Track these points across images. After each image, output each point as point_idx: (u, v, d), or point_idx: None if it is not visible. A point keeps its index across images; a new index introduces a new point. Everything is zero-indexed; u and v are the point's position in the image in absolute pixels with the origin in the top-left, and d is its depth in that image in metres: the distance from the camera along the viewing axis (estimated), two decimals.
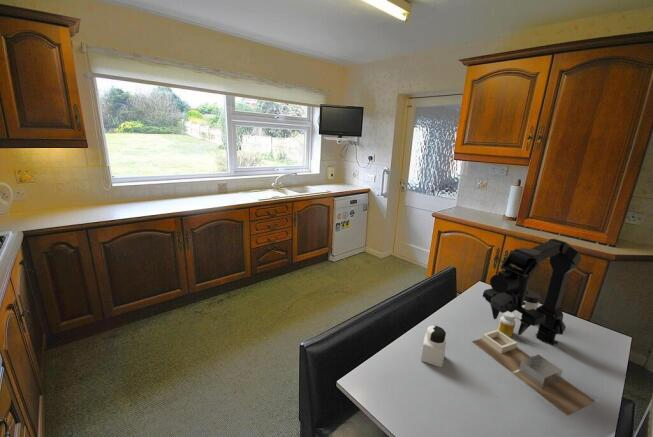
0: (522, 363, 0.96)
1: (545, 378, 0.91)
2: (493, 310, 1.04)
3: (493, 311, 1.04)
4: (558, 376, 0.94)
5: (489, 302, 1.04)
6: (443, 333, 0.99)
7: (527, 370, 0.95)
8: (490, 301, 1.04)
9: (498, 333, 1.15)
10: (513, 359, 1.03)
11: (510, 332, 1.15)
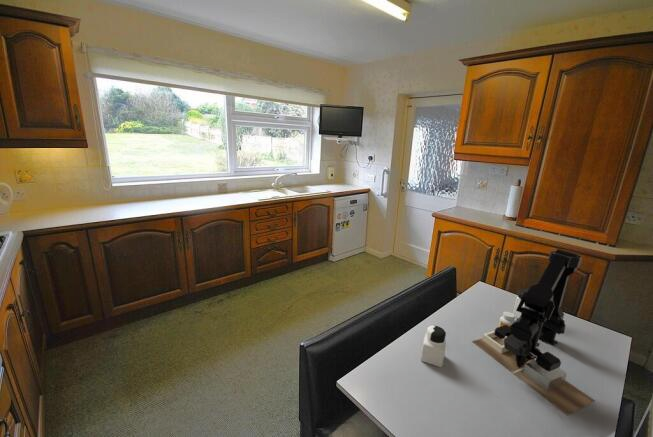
0: (526, 366, 0.95)
1: (550, 382, 0.89)
2: (517, 358, 0.98)
3: (517, 359, 0.98)
4: (563, 379, 0.92)
5: None
6: (443, 333, 0.99)
7: (531, 373, 0.94)
8: None
9: None
10: (513, 359, 1.03)
11: None
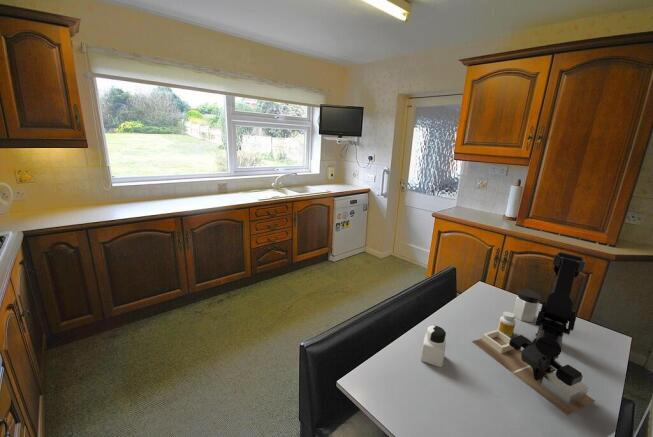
0: (544, 379, 0.90)
1: (571, 397, 0.84)
2: (534, 370, 0.93)
3: (534, 371, 0.93)
4: (584, 394, 0.87)
5: None
6: (443, 333, 0.99)
7: (550, 387, 0.89)
8: None
9: (498, 333, 1.15)
10: (513, 359, 1.03)
11: (510, 332, 1.15)
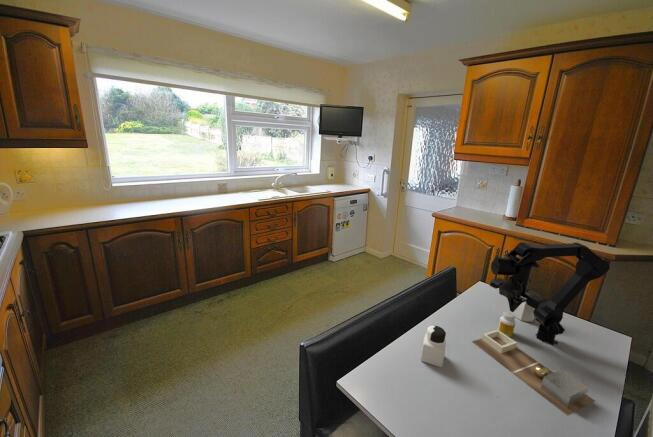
0: (544, 379, 0.90)
1: (571, 397, 0.84)
2: (510, 303, 1.13)
3: (510, 304, 1.13)
4: (584, 394, 0.87)
5: None
6: (443, 333, 0.99)
7: (550, 387, 0.89)
8: None
9: (498, 333, 1.15)
10: (513, 359, 1.03)
11: (510, 332, 1.15)
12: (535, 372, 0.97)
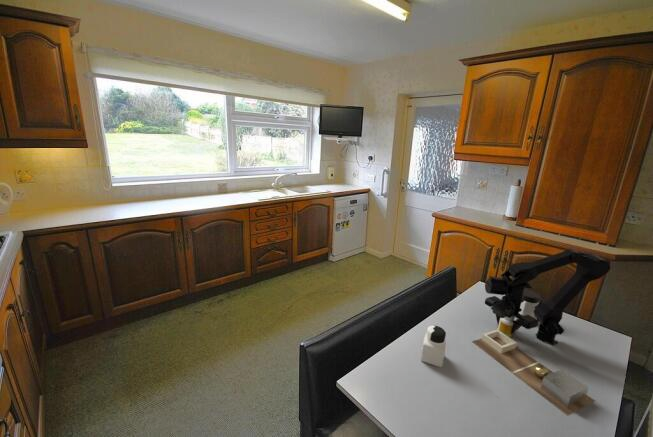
0: (544, 379, 0.90)
1: (571, 397, 0.84)
2: (497, 318, 1.20)
3: (497, 318, 1.20)
4: (584, 394, 0.87)
5: None
6: (443, 333, 0.99)
7: (550, 387, 0.89)
8: None
9: (498, 333, 1.15)
10: (513, 359, 1.03)
11: (510, 332, 1.15)
12: (535, 372, 0.97)
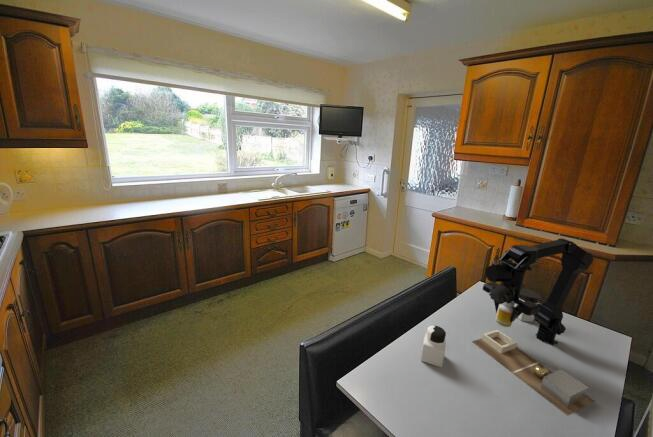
0: (544, 379, 0.90)
1: (571, 397, 0.84)
2: (496, 305, 1.11)
3: (496, 306, 1.11)
4: (584, 394, 0.87)
5: None
6: (443, 333, 0.99)
7: (550, 387, 0.89)
8: None
9: (498, 333, 1.15)
10: (513, 359, 1.03)
11: (509, 320, 1.07)
12: (535, 372, 0.97)
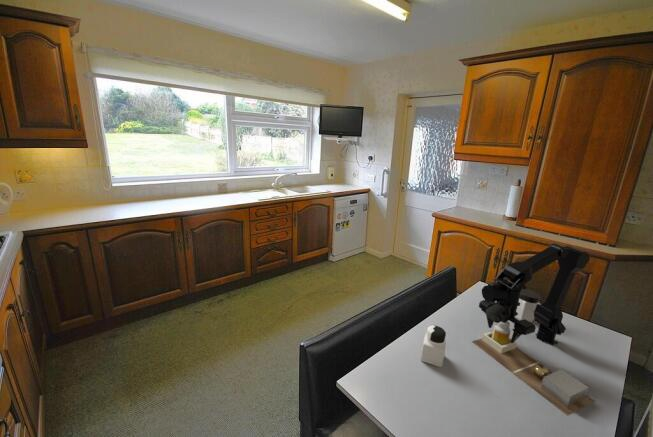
0: (544, 379, 0.90)
1: (571, 397, 0.84)
2: (488, 319, 1.13)
3: (488, 320, 1.13)
4: (584, 394, 0.87)
5: (484, 312, 1.13)
6: (443, 333, 0.99)
7: (550, 387, 0.89)
8: (485, 311, 1.13)
9: None
10: (513, 359, 1.03)
11: (505, 341, 1.08)
12: (535, 372, 0.97)
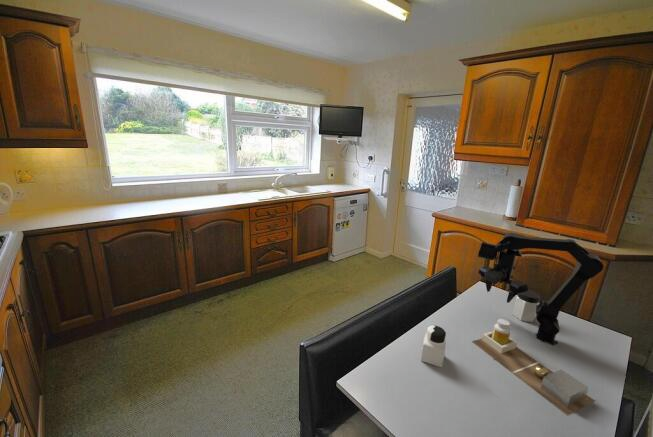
0: (544, 379, 0.90)
1: (571, 397, 0.84)
2: (487, 284, 1.27)
3: (487, 285, 1.27)
4: (584, 394, 0.87)
5: (483, 277, 1.26)
6: (443, 333, 0.99)
7: (550, 387, 0.89)
8: (484, 276, 1.26)
9: None
10: (513, 359, 1.03)
11: (505, 341, 1.08)
12: (535, 372, 0.97)
